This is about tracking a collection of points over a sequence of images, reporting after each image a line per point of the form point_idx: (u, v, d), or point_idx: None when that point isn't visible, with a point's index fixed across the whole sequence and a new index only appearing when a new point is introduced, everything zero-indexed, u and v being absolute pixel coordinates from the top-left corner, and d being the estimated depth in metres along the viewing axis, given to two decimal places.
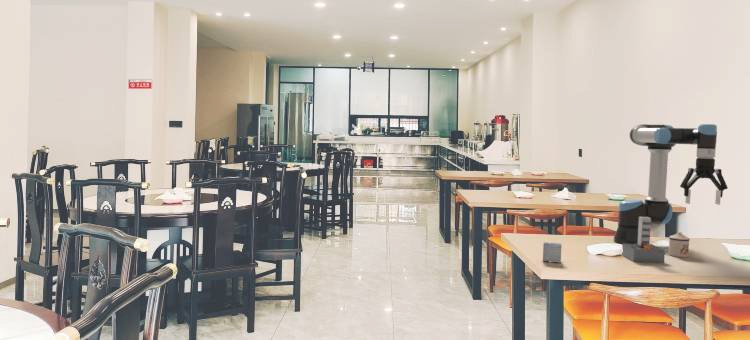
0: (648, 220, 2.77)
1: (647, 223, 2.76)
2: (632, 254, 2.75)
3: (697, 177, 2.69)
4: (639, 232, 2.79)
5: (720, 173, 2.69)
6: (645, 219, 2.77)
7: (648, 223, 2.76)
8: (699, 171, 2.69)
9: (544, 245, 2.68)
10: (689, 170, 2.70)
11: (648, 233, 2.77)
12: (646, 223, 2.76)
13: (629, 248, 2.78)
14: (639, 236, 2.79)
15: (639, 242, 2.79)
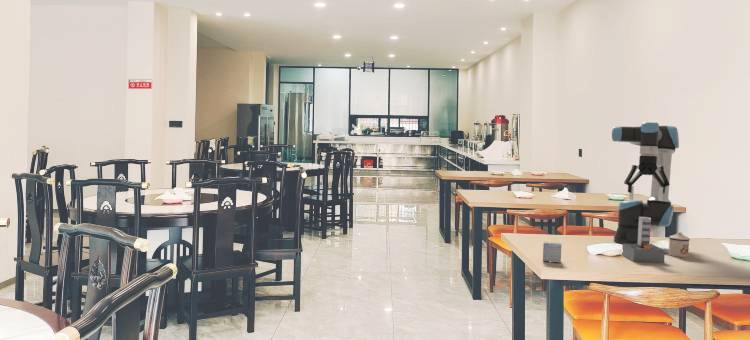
0: (648, 220, 2.77)
1: (647, 223, 2.76)
2: (632, 254, 2.75)
3: (640, 174, 2.76)
4: (639, 232, 2.79)
5: (662, 170, 2.76)
6: (645, 219, 2.77)
7: (648, 223, 2.76)
8: (642, 168, 2.76)
9: (544, 245, 2.68)
10: (632, 167, 2.77)
11: (648, 233, 2.77)
12: (646, 223, 2.76)
13: (629, 248, 2.78)
14: (639, 236, 2.79)
15: (639, 242, 2.79)
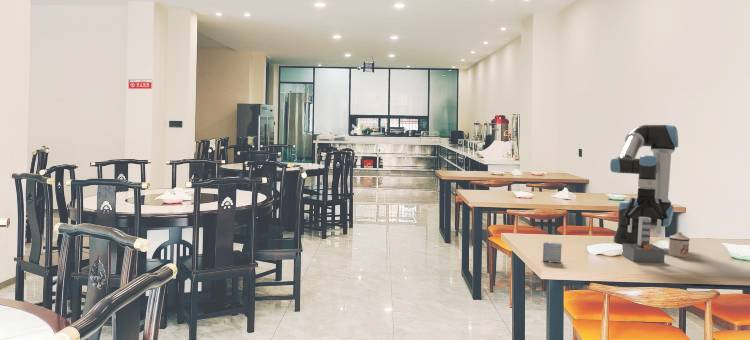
0: (648, 220, 2.77)
1: (647, 223, 2.76)
2: (632, 254, 2.75)
3: (638, 207, 2.77)
4: (639, 232, 2.79)
5: (660, 203, 2.77)
6: (645, 219, 2.77)
7: (648, 223, 2.76)
8: (640, 201, 2.77)
9: (544, 245, 2.68)
10: (631, 200, 2.78)
11: (648, 233, 2.77)
12: (646, 223, 2.76)
13: (629, 248, 2.78)
14: (639, 236, 2.79)
15: (639, 242, 2.79)
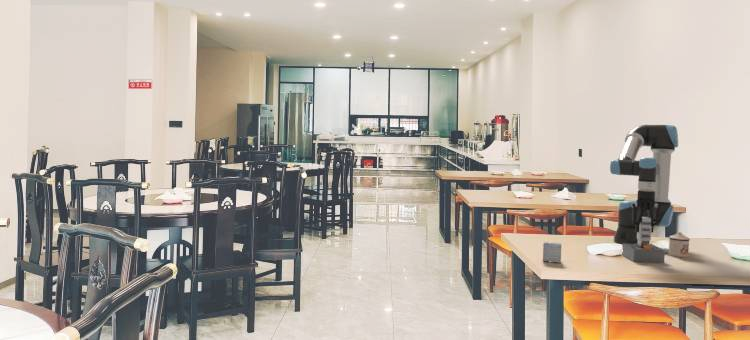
0: (648, 220, 2.77)
1: (647, 223, 2.76)
2: (632, 254, 2.75)
3: (641, 211, 2.77)
4: None
5: (658, 208, 2.77)
6: (645, 219, 2.77)
7: (648, 223, 2.76)
8: (640, 203, 2.77)
9: (544, 245, 2.68)
10: (632, 206, 2.78)
11: (648, 233, 2.77)
12: (646, 223, 2.76)
13: (629, 248, 2.78)
14: None
15: (639, 242, 2.79)
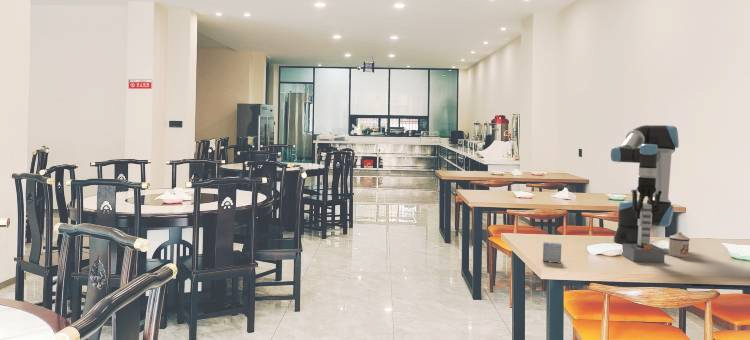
0: (649, 207, 2.76)
1: (648, 210, 2.76)
2: (632, 254, 2.75)
3: (642, 198, 2.76)
4: None
5: (659, 195, 2.76)
6: (646, 206, 2.76)
7: (649, 210, 2.76)
8: (641, 189, 2.77)
9: (544, 245, 2.68)
10: (632, 192, 2.78)
11: (649, 220, 2.77)
12: (647, 210, 2.76)
13: (629, 248, 2.78)
14: None
15: (640, 229, 2.78)
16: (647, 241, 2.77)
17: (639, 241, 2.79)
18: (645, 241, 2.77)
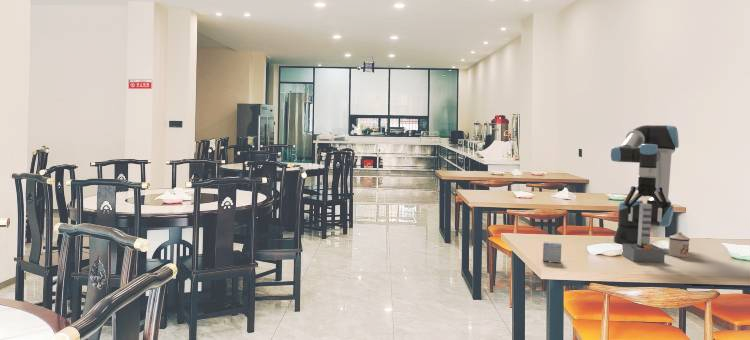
0: (649, 206, 2.76)
1: (648, 209, 2.76)
2: (632, 254, 2.75)
3: (639, 195, 2.76)
4: (640, 219, 2.79)
5: (661, 191, 2.76)
6: (646, 205, 2.76)
7: (649, 209, 2.76)
8: (641, 189, 2.77)
9: (544, 245, 2.68)
10: (631, 188, 2.78)
11: (649, 219, 2.77)
12: (647, 209, 2.76)
13: (629, 248, 2.78)
14: (640, 223, 2.79)
15: (640, 228, 2.78)
16: (647, 241, 2.77)
17: (639, 241, 2.79)
18: (645, 241, 2.77)
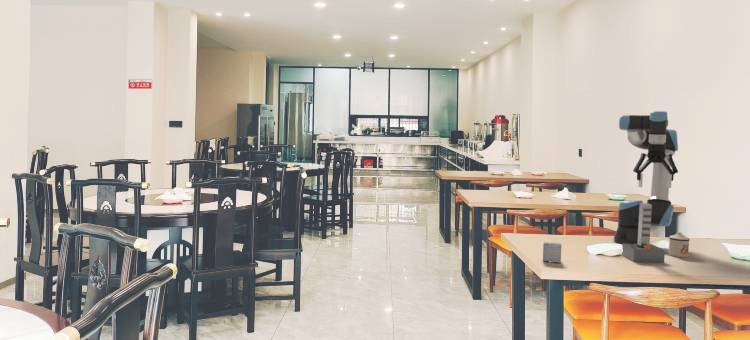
0: (649, 206, 2.76)
1: (648, 209, 2.76)
2: (632, 254, 2.75)
3: (649, 162, 2.82)
4: (640, 219, 2.79)
5: (671, 158, 2.81)
6: (646, 205, 2.76)
7: (649, 209, 2.76)
8: (651, 156, 2.82)
9: (544, 245, 2.68)
10: (641, 155, 2.83)
11: (649, 219, 2.77)
12: (647, 209, 2.76)
13: (629, 248, 2.78)
14: (640, 223, 2.79)
15: (640, 228, 2.78)
16: (647, 241, 2.77)
17: (639, 241, 2.79)
18: (645, 241, 2.77)
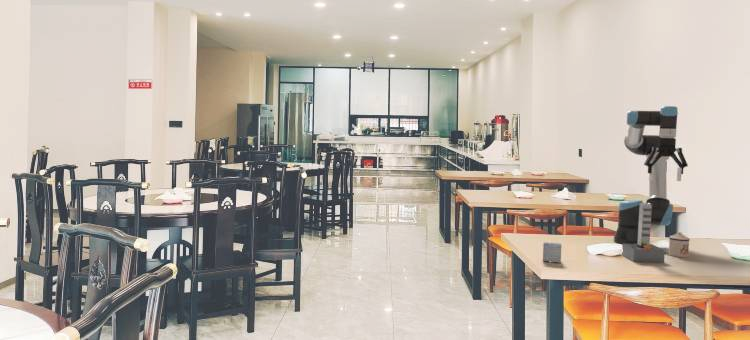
0: (649, 206, 2.76)
1: (648, 209, 2.76)
2: (632, 254, 2.75)
3: (659, 155, 2.89)
4: (640, 219, 2.79)
5: (681, 152, 2.89)
6: (646, 205, 2.76)
7: (649, 209, 2.76)
8: (661, 150, 2.90)
9: (544, 245, 2.68)
10: (652, 149, 2.91)
11: (649, 219, 2.77)
12: (647, 209, 2.76)
13: (629, 248, 2.78)
14: (640, 223, 2.79)
15: (640, 228, 2.78)
16: (647, 241, 2.77)
17: (639, 241, 2.79)
18: (645, 241, 2.77)
